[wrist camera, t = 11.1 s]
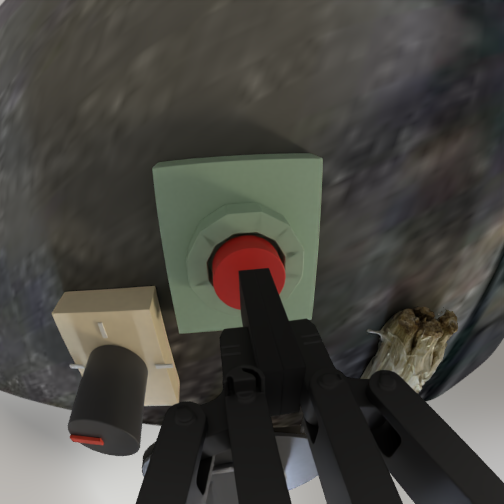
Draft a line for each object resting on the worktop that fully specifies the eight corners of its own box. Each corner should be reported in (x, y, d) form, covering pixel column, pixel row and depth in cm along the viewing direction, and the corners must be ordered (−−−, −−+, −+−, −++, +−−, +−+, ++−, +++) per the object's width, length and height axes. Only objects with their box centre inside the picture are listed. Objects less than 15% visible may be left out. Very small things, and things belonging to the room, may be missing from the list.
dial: (139, 343, 20) (124, 426, 14) (154, 386, 23) (148, 461, 16) (80, 344, 20) (53, 419, 13) (101, 385, 22) (85, 455, 15)
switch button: (278, 290, 19) (284, 306, 18) (215, 296, 19) (216, 314, 17) (279, 231, 17) (286, 244, 16) (209, 237, 17) (209, 251, 15)
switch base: (303, 303, 25) (319, 334, 21) (180, 315, 23) (178, 350, 20) (311, 153, 19) (334, 163, 16) (157, 162, 18) (146, 174, 15)
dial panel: (185, 380, 27) (185, 406, 24) (99, 381, 26) (93, 405, 23) (162, 284, 22) (158, 310, 19) (58, 291, 21) (44, 314, 18)
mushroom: (375, 299, 26) (404, 336, 21) (446, 293, 27) (476, 321, 22) (337, 398, 32) (352, 434, 27) (401, 384, 33) (419, 414, 29)
